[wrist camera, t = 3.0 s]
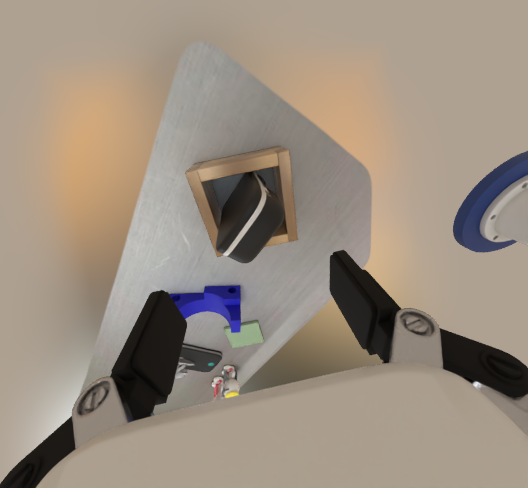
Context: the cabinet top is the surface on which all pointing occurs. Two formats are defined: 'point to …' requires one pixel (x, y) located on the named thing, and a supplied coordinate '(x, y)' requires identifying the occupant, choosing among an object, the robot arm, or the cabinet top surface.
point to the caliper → (180, 371)
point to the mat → (245, 334)
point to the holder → (236, 165)
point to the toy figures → (226, 384)
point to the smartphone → (200, 358)
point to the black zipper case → (248, 219)
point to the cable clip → (212, 303)
